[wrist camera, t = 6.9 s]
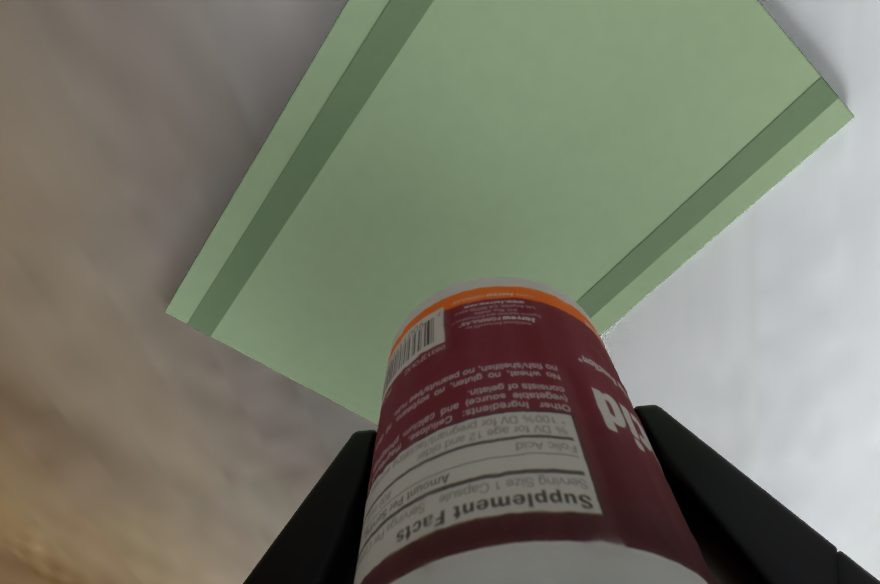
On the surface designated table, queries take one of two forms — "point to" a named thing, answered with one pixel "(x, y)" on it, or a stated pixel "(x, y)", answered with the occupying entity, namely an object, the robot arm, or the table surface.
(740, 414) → the table surface
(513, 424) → the pill bottle
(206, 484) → the table surface
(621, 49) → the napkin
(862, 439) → the table surface
